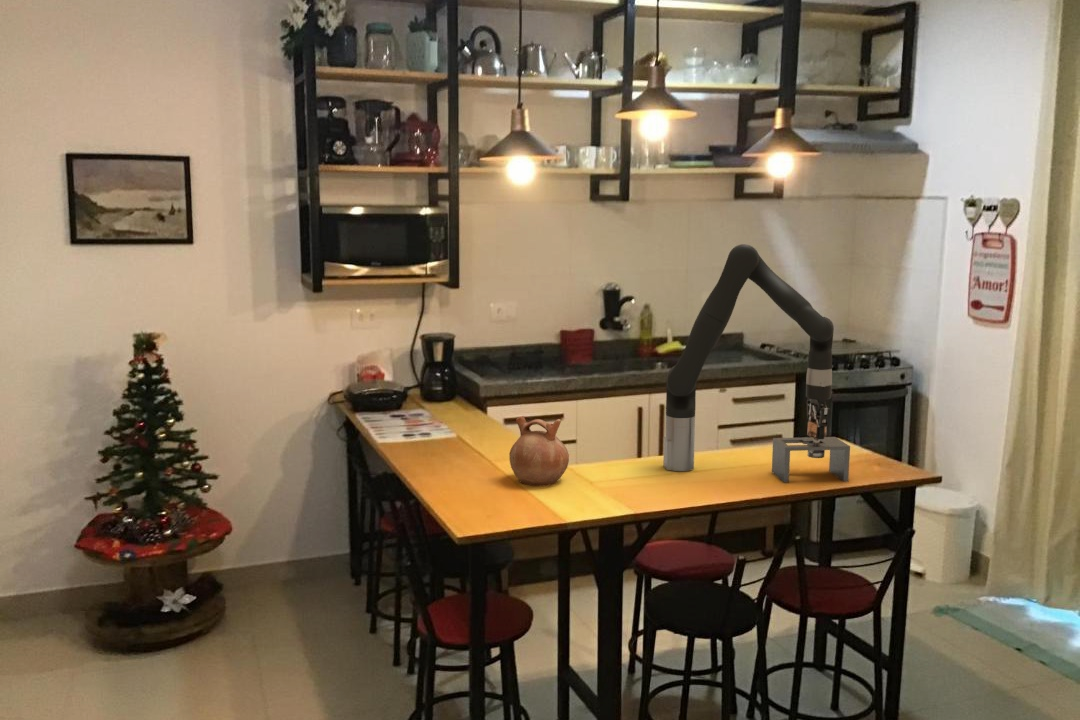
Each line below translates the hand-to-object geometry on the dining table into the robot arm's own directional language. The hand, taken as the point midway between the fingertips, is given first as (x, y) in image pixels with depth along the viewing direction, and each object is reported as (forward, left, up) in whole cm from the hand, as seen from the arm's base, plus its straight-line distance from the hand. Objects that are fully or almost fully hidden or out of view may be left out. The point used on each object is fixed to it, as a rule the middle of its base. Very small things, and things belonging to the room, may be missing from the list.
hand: (816, 436), depth 296 cm
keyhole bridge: (-2, 0, -13) cm, 13 cm away
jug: (-86, +2, -13) cm, 86 cm away
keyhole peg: (0, 0, -6) cm, 6 cm away
